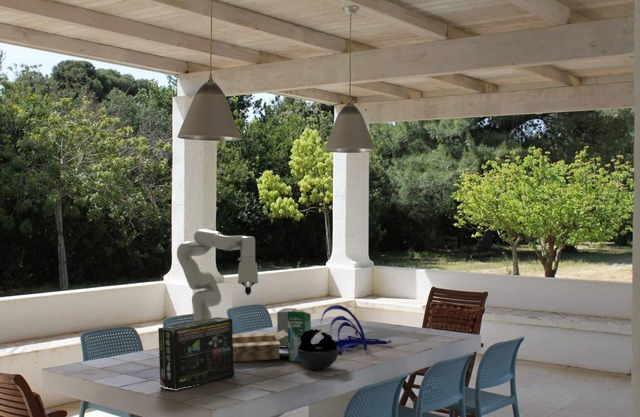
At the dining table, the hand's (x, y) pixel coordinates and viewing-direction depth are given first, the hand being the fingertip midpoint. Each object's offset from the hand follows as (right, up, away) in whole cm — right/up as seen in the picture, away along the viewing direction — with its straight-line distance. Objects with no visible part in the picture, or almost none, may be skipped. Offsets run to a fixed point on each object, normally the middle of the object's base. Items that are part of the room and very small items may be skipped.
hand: (248, 294), depth 393 cm
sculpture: (+52, -31, +14) cm, 63 cm away
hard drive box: (+20, -31, +23) cm, 43 cm away
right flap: (+15, -22, -4) cm, 27 cm away
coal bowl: (+37, -32, -37) cm, 61 cm away
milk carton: (+28, -31, -14) cm, 44 cm away
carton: (+4, -32, -6) cm, 32 cm away
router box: (-17, -33, -58) cm, 69 cm away
